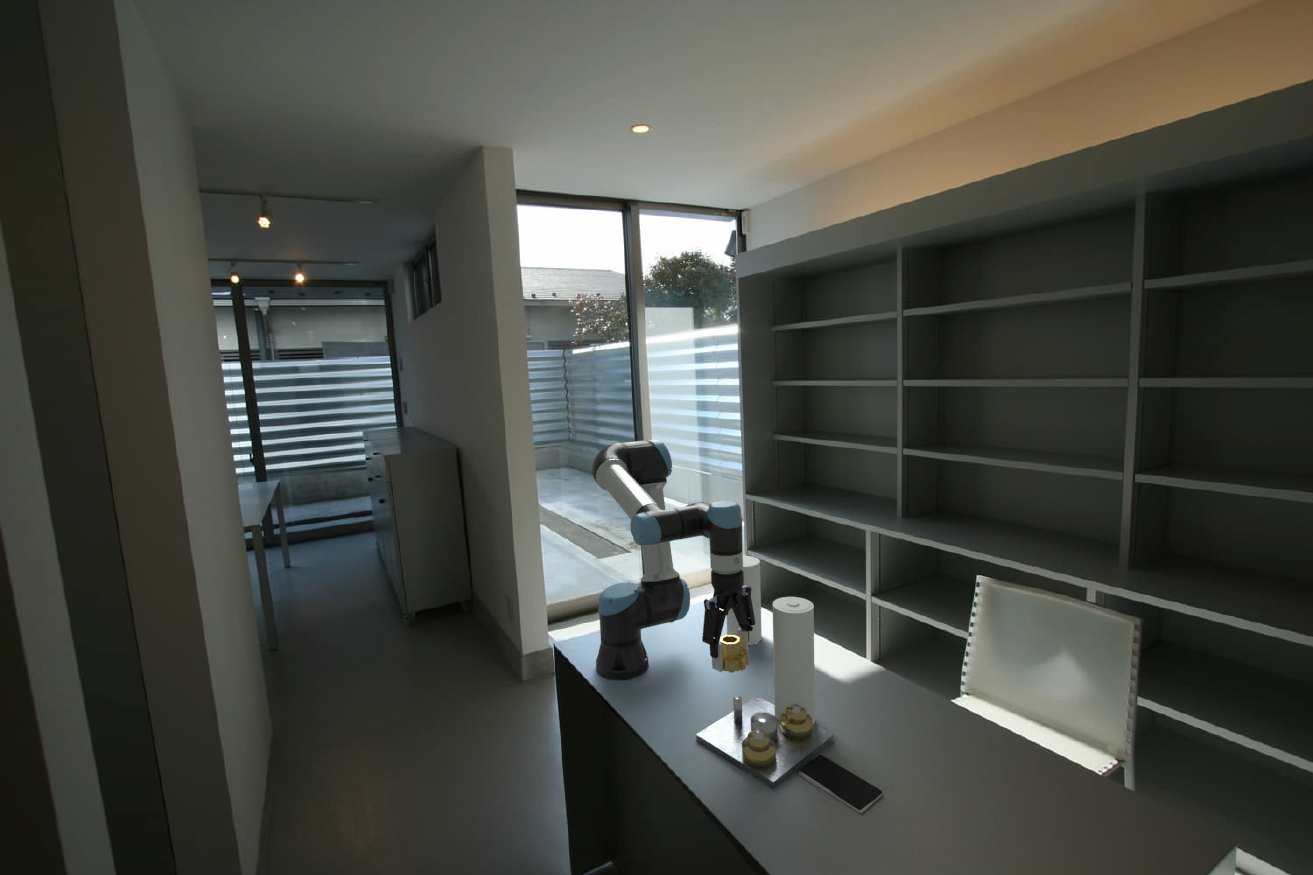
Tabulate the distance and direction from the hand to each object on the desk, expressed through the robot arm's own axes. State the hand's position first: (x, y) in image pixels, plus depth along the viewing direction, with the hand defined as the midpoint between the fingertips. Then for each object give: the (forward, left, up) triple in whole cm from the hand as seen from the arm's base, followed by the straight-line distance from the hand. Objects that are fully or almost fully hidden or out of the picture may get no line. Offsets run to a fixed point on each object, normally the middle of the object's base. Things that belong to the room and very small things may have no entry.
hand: (730, 662), depth 140 cm
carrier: (+9, +1, -16) cm, 18 cm away
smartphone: (+28, +1, -17) cm, 33 cm away
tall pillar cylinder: (-27, +37, -16) cm, 49 cm away
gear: (0, 0, 0) cm, 0 cm away
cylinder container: (+9, +12, -17) cm, 23 cm away
